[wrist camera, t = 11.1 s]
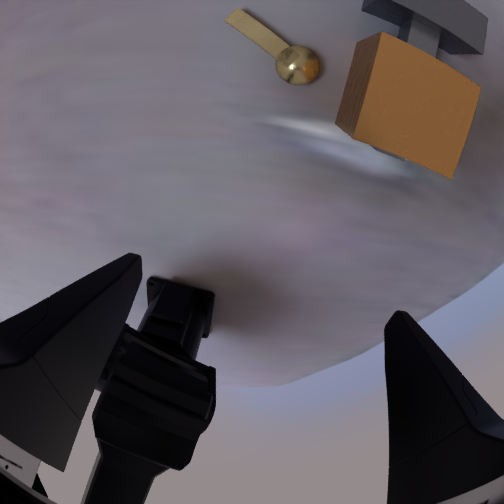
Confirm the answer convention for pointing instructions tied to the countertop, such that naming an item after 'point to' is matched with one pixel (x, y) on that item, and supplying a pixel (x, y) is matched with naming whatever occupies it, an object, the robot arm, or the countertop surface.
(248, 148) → the countertop surface
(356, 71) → the wooden u-channel block
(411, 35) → the hammer
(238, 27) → the brass measuring spoon
